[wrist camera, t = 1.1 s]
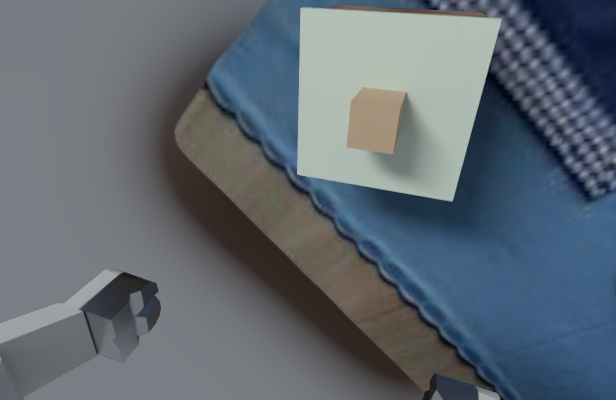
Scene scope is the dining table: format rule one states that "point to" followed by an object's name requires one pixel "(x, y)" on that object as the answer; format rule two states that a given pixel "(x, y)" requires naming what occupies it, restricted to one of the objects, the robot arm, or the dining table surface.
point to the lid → (390, 97)
